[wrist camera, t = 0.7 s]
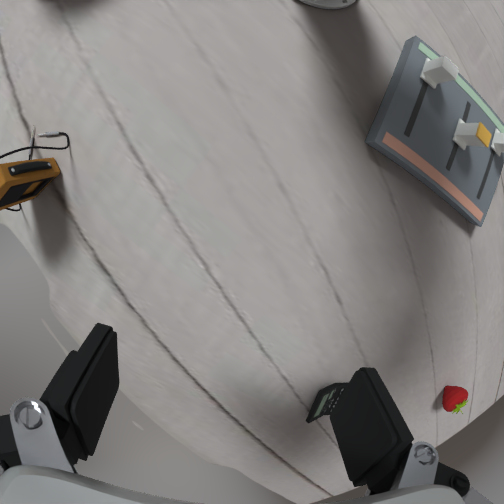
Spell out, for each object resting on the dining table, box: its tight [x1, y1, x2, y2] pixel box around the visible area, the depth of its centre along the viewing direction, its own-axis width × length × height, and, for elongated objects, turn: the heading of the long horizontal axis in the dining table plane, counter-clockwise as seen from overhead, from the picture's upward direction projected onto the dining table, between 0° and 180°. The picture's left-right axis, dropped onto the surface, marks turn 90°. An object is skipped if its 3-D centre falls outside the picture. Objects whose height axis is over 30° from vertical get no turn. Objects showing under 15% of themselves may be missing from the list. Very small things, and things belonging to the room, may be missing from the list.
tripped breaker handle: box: [453, 119, 491, 150], centre depth 29 cm, size 4×3×5 cm
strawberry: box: [442, 386, 468, 414], centre depth 49 cm, size 6×8×10 cm
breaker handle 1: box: [420, 55, 459, 89], centre depth 26 cm, size 4×3×5 cm
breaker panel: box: [365, 36, 504, 227], centre depth 33 cm, size 20×26×3 cm
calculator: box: [306, 383, 349, 423], centre depth 49 cm, size 9×12×3 cm
